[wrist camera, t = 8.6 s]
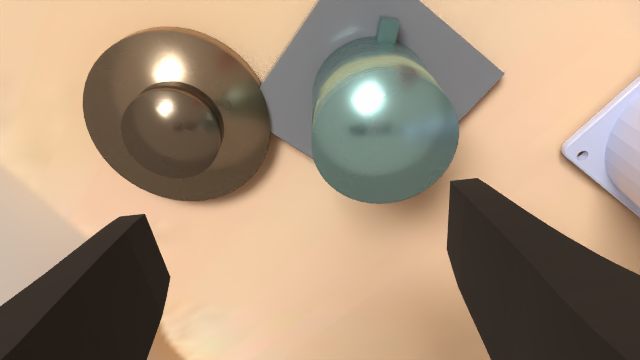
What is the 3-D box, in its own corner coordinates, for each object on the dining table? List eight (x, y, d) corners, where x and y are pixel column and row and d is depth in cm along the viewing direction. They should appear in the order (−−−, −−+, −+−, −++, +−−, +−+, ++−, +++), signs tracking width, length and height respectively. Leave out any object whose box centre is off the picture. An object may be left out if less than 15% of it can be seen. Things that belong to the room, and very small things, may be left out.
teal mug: (408, 168, 20) (429, 227, 17) (303, 155, 20) (300, 212, 16) (449, 25, 17) (488, 57, 13) (324, 6, 17) (327, 34, 13)
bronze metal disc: (305, 99, 19) (304, 116, 18) (217, 217, 23) (209, 242, 21) (136, -16, 17) (116, -9, 15) (64, 136, 20) (41, 156, 18)
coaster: (499, 69, 19) (504, 73, 18) (379, 195, 22) (381, 201, 21) (354, -55, 16) (355, -54, 16) (243, 108, 19) (241, 113, 19)
